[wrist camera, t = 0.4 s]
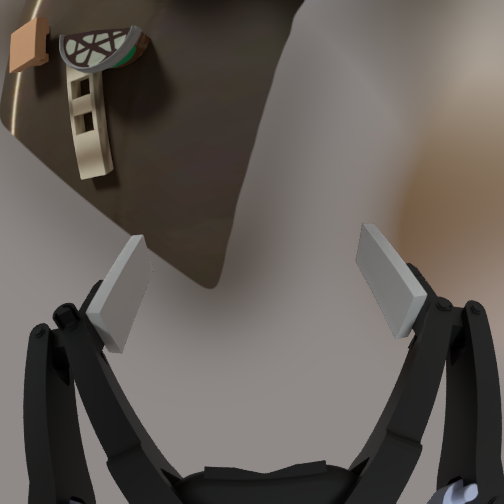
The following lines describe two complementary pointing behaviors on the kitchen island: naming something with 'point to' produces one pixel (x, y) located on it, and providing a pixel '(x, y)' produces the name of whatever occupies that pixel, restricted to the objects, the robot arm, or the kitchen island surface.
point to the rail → (96, 141)
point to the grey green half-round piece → (103, 48)
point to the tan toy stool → (29, 45)
